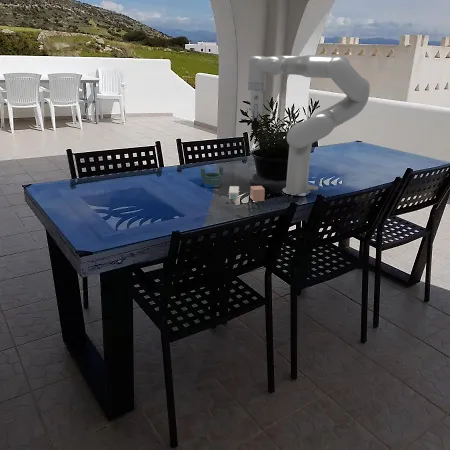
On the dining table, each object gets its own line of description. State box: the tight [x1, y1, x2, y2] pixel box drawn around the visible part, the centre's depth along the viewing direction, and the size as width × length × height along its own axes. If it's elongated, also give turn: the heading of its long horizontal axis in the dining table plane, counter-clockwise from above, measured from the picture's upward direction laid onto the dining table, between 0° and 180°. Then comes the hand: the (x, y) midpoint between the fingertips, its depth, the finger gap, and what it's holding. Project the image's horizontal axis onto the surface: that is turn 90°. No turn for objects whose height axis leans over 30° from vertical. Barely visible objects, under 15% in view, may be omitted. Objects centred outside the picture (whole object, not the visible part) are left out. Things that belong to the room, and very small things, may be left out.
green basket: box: [200, 165, 224, 185], centre depth 206 cm, size 9×9×9 cm
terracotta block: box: [249, 185, 266, 202], centre depth 186 cm, size 5×5×6 cm
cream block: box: [228, 185, 240, 199], centre depth 189 cm, size 4×4×9 cm
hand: (254, 129), depth 194 cm, fingers closed
